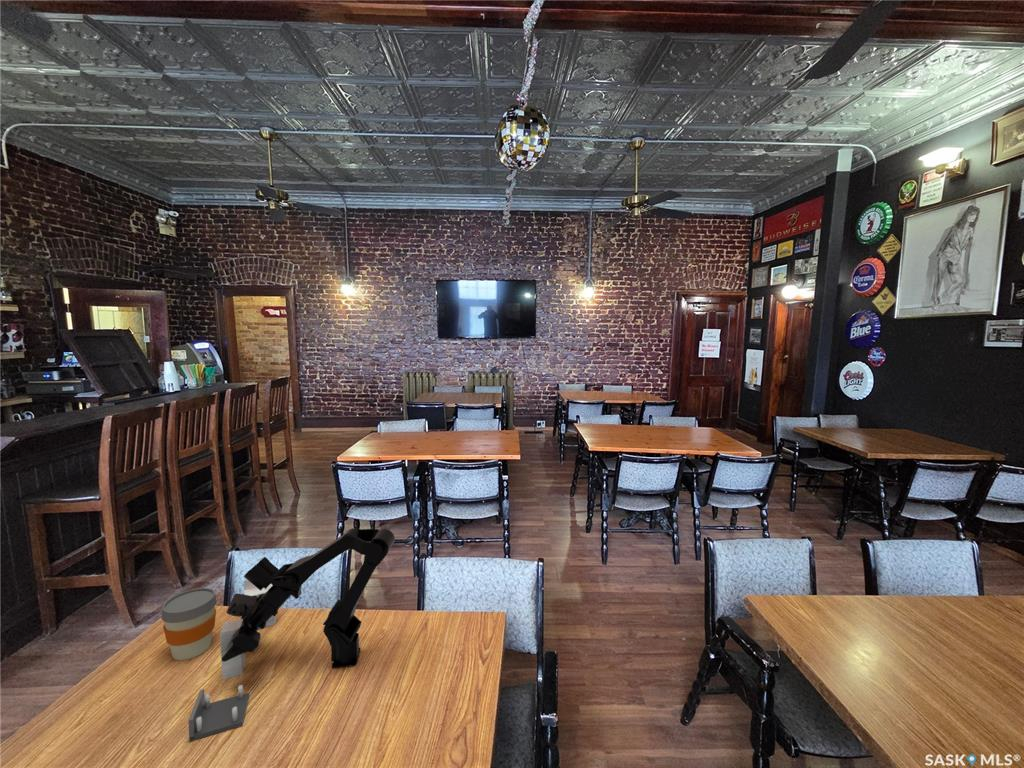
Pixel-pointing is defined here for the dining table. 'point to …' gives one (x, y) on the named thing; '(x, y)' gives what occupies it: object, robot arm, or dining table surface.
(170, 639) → the reusable coffee cup
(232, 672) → the silver tall square block
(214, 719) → the drive dock
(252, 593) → the ink box
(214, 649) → the dining table surface
